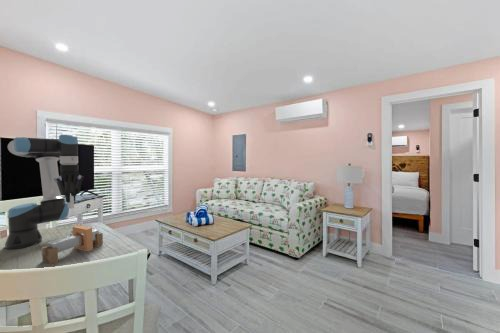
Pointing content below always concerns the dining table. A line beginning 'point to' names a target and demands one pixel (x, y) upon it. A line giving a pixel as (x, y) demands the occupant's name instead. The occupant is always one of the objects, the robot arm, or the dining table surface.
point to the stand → (52, 253)
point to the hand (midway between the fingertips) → (70, 207)
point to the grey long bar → (70, 241)
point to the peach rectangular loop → (86, 235)
